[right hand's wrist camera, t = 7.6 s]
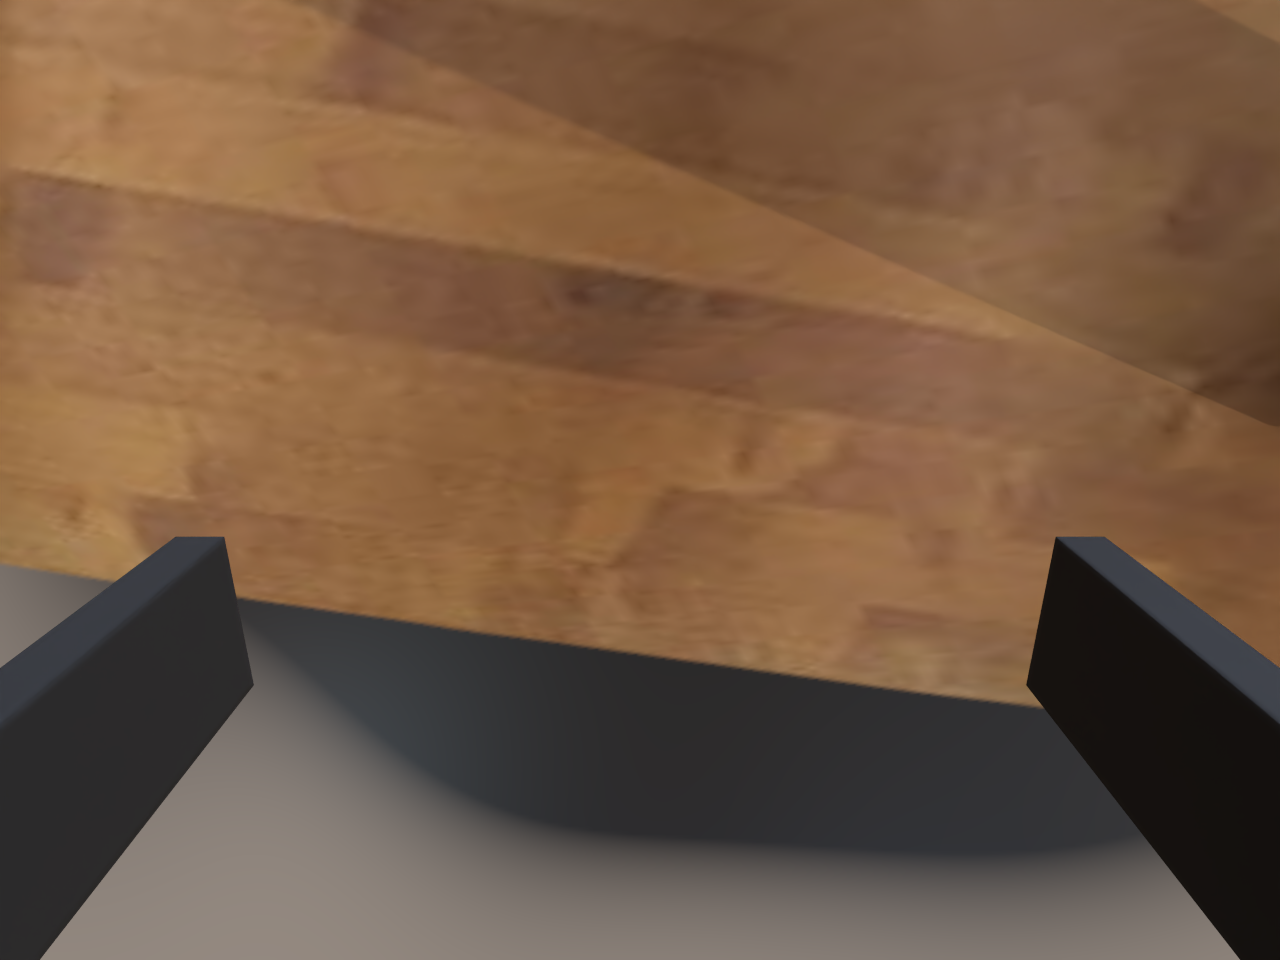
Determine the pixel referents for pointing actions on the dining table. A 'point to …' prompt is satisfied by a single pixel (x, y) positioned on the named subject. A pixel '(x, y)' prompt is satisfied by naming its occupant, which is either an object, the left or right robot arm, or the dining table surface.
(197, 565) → the right robot arm
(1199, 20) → the dining table surface
